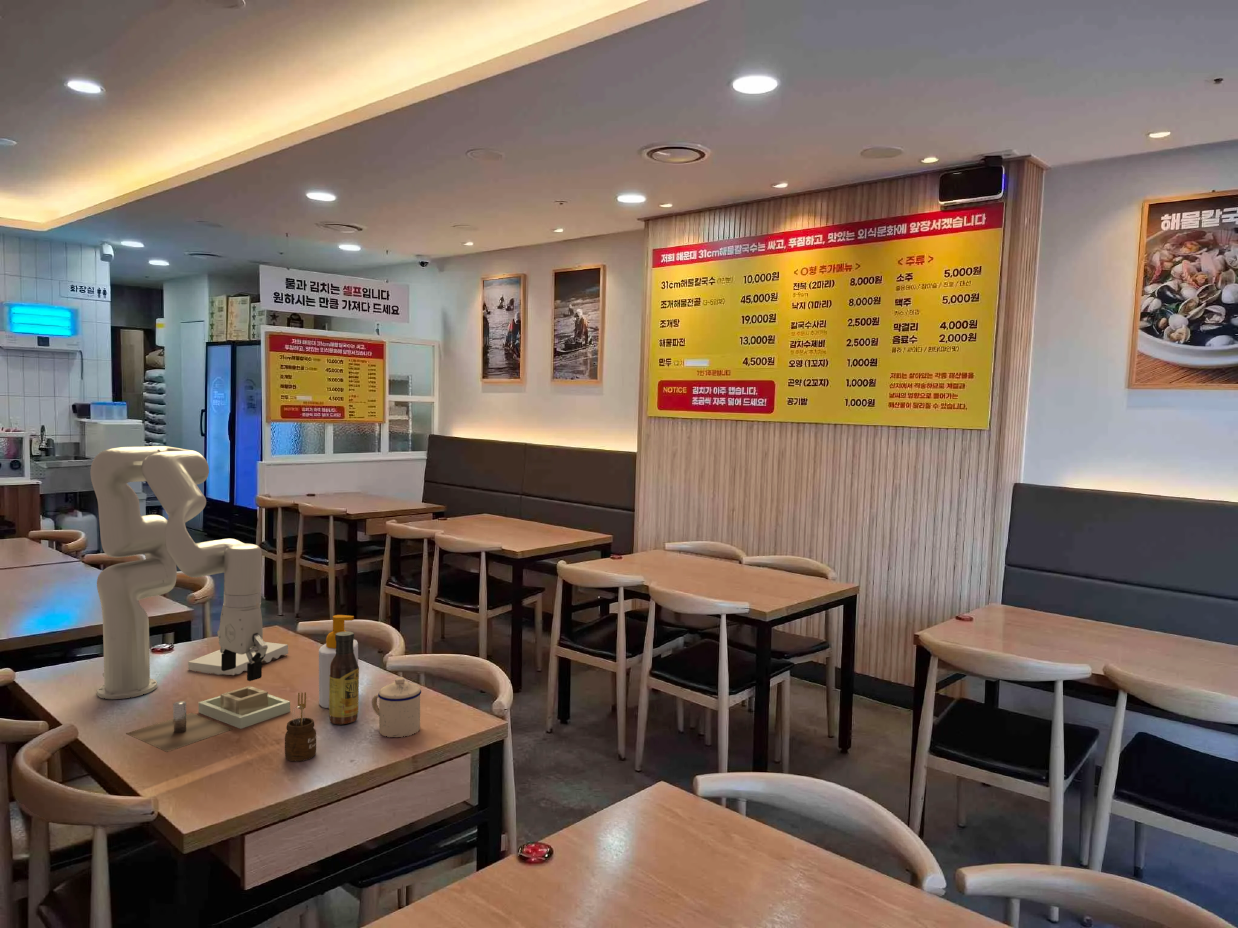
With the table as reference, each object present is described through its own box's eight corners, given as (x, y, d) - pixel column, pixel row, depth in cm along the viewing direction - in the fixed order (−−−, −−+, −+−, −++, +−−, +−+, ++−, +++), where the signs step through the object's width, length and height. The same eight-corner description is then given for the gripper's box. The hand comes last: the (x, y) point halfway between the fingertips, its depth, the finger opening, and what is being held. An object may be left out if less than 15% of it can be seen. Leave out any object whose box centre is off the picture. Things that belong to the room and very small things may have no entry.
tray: (198, 718, 180) (198, 702, 180) (248, 702, 190) (248, 687, 190) (240, 735, 172) (240, 717, 171) (290, 717, 182) (290, 701, 181)
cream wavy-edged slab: (233, 680, 208) (288, 656, 227) (233, 667, 208) (287, 644, 227) (188, 674, 213) (246, 650, 232) (188, 661, 213) (245, 639, 232)
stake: (171, 731, 169) (170, 703, 169) (182, 727, 171) (182, 700, 171) (177, 734, 168) (177, 706, 168) (188, 730, 170) (188, 702, 170)
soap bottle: (345, 709, 187) (345, 623, 186) (310, 708, 188) (310, 622, 186) (365, 689, 201) (365, 609, 199) (332, 688, 201) (332, 609, 199)
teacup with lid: (429, 726, 178) (429, 675, 177) (403, 741, 170) (403, 687, 169) (386, 717, 183) (386, 667, 182) (358, 731, 175) (358, 679, 174)
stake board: (125, 740, 168) (125, 733, 168) (191, 719, 180) (191, 712, 180) (167, 759, 160) (167, 751, 159) (233, 735, 171) (233, 728, 171)
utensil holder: (283, 763, 158) (282, 704, 158) (287, 750, 165) (286, 693, 164) (314, 760, 160) (314, 701, 159) (317, 747, 166) (317, 691, 165)
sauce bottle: (349, 727, 177) (348, 638, 176) (323, 724, 178) (323, 636, 177) (364, 716, 183) (364, 630, 182) (339, 713, 185) (339, 628, 183)
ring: (220, 716, 180) (220, 694, 180) (249, 706, 186) (249, 685, 185) (239, 723, 176) (238, 700, 176) (268, 713, 182) (267, 691, 182)
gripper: (204, 595, 181) (203, 669, 182) (250, 610, 171) (248, 688, 173) (235, 590, 187) (234, 661, 188) (281, 603, 178) (279, 678, 179)
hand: (241, 674), depth 181 cm, fingers open, 9 cm apart
